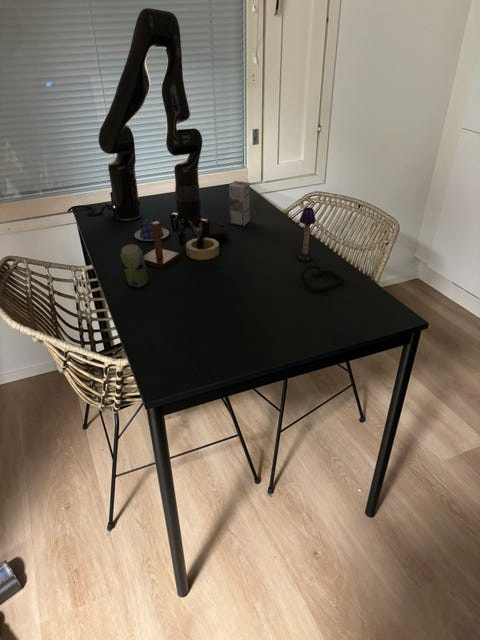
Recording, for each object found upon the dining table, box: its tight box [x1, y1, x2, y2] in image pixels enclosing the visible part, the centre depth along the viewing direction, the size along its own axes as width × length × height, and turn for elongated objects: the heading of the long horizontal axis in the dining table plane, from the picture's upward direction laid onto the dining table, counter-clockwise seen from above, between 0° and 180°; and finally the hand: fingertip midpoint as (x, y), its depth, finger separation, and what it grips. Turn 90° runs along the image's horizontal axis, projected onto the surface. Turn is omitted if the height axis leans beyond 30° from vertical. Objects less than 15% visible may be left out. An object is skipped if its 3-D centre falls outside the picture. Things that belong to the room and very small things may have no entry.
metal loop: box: [299, 264, 344, 293], centre depth 141 cm, size 13×5×10 cm
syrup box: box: [228, 180, 251, 227], centre depth 178 cm, size 6×6×14 cm
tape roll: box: [185, 237, 220, 261], centre depth 160 cm, size 10×10×3 cm
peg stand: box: [143, 220, 181, 270], centre depth 153 cm, size 9×9×12 cm
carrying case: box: [196, 219, 228, 243], centre depth 171 cm, size 11×3×15 cm
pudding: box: [133, 218, 170, 242], centre depth 171 cm, size 12×12×5 cm
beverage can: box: [119, 243, 150, 288], centre depth 140 cm, size 6×7×12 cm
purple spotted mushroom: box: [297, 206, 316, 263], centre depth 151 cm, size 5×5×17 cm
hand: (191, 246), depth 162 cm, fingers open, 6 cm apart
